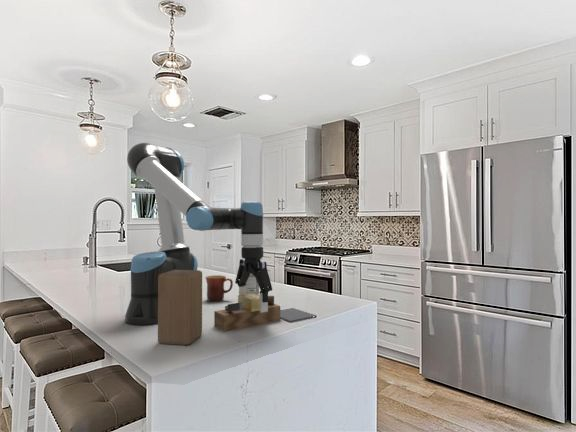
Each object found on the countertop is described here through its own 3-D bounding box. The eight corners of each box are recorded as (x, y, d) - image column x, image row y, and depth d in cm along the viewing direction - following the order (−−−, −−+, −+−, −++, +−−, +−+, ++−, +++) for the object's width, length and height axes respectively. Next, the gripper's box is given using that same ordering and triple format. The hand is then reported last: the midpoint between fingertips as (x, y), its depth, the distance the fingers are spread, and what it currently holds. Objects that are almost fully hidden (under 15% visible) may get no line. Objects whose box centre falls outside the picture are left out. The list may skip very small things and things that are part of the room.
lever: (225, 312, 122) (238, 310, 115) (224, 305, 123) (237, 302, 116) (230, 311, 123) (244, 309, 116) (229, 304, 124) (243, 301, 117)
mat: (290, 322, 128) (290, 320, 128) (267, 314, 139) (267, 312, 139) (316, 317, 135) (316, 315, 135) (292, 309, 146) (292, 307, 146)
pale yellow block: (251, 311, 122) (251, 299, 122) (238, 306, 129) (238, 295, 129) (266, 309, 126) (266, 297, 126) (252, 304, 133) (252, 293, 133)
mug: (202, 302, 158) (202, 278, 158) (208, 297, 167) (209, 275, 167) (230, 302, 157) (230, 278, 157) (234, 298, 166) (235, 275, 166)
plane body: (224, 331, 117) (224, 306, 117) (214, 326, 123) (214, 302, 123) (280, 320, 131) (280, 297, 131) (269, 315, 136) (269, 294, 136)
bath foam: (261, 300, 162) (261, 254, 162) (246, 302, 159) (247, 255, 159) (254, 297, 168) (255, 253, 168) (240, 298, 165) (240, 254, 165)
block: (156, 344, 105) (156, 274, 105) (172, 333, 115) (172, 269, 115) (189, 346, 104) (189, 274, 104) (203, 335, 113) (203, 270, 114)
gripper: (282, 247, 120) (283, 313, 120) (243, 244, 140) (243, 300, 140) (263, 249, 116) (263, 317, 115) (225, 245, 135) (226, 303, 135)
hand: (252, 308), depth 128 cm, fingers open, 13 cm apart
